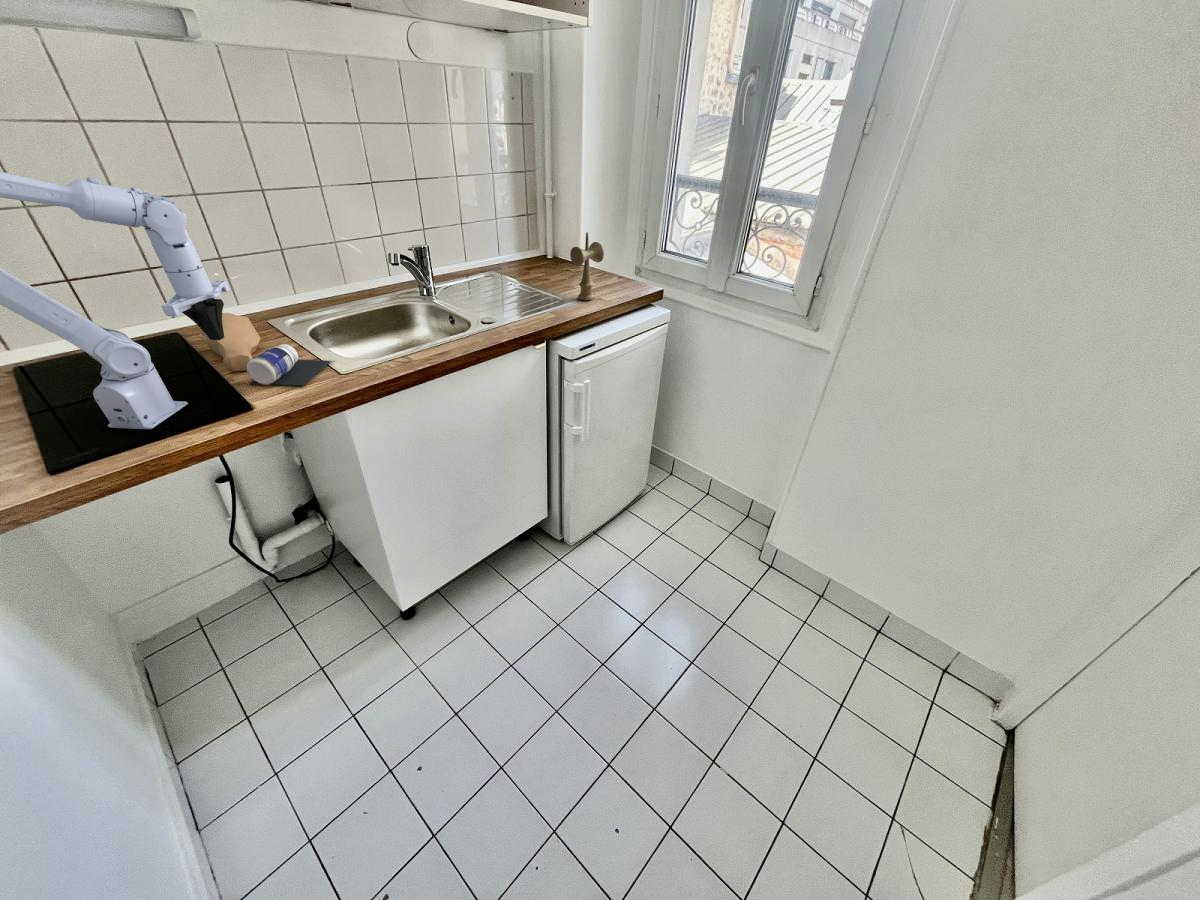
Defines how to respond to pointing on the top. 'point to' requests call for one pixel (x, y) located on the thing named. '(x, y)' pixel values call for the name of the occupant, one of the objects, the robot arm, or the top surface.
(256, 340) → the squash
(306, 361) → the mat
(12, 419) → the top surface
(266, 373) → the pill bottle
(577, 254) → the kendama
